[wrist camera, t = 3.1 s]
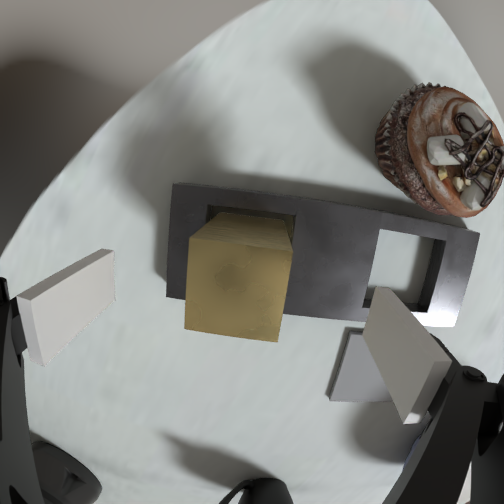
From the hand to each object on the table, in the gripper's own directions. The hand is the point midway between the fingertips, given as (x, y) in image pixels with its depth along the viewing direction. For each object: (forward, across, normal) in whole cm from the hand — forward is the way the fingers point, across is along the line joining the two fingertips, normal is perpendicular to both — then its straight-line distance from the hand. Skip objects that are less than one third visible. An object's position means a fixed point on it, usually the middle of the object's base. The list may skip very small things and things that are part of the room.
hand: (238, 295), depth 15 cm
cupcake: (+11, +13, +10) cm, 20 cm away
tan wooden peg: (+11, 0, 0) cm, 11 cm away
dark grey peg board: (+11, +7, 0) cm, 13 cm away
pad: (+11, +14, -11) cm, 21 cm away
